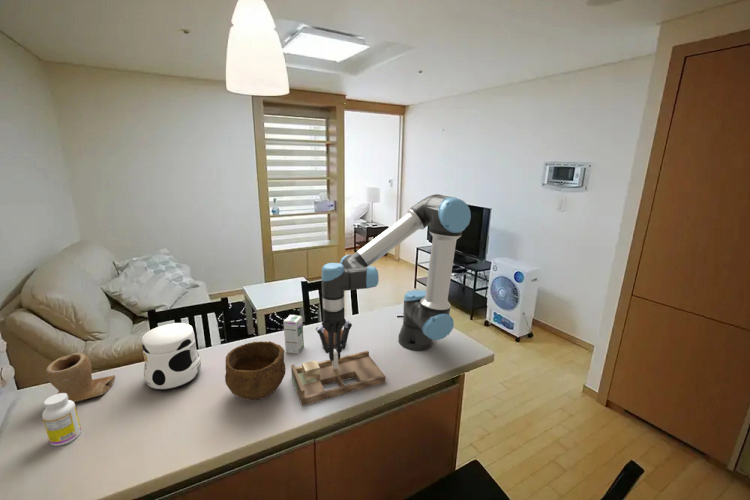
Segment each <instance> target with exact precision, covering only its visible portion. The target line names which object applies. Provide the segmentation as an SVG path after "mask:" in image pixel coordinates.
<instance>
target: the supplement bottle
mask: <svg viewBox="0 0 750 500" xmlns="http://www.w3.org/2000/svg"><path fill="white" fill-rule="evenodd" d="M43 404H44V408H45V409H44V410H43V412H42V414H41V417H42V420H43V424H44V427H45V430H46V434H47V438H48V441H49V444H50V445H51V446H54V447H60V446H63V445H66V444H69V443H71V442H73V441H74V440H76V438H78V437H79V436H80V434H82V433H81V432H82V426H81V422H80V419H79V414H78V411H77V406H76V402H73V401H71V400H68V395H67V394H66V393H59V394H57V393H56V394H53V395H51V396H49V397H48V398H46V399H45V400H44V402H43Z"/></svg>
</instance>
